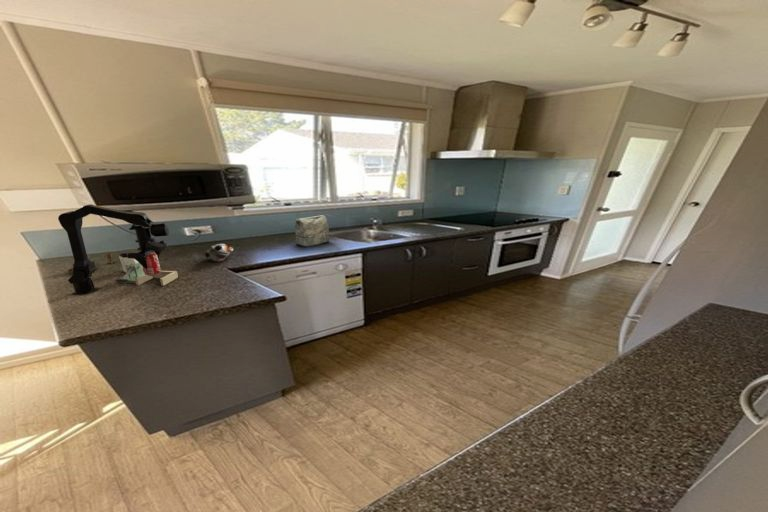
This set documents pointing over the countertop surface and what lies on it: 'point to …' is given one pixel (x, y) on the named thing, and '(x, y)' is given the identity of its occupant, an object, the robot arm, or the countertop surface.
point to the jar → (126, 259)
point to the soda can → (152, 264)
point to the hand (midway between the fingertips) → (151, 265)
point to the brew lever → (126, 275)
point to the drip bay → (163, 275)
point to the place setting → (95, 264)
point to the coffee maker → (134, 272)
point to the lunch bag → (312, 230)
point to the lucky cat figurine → (218, 252)
